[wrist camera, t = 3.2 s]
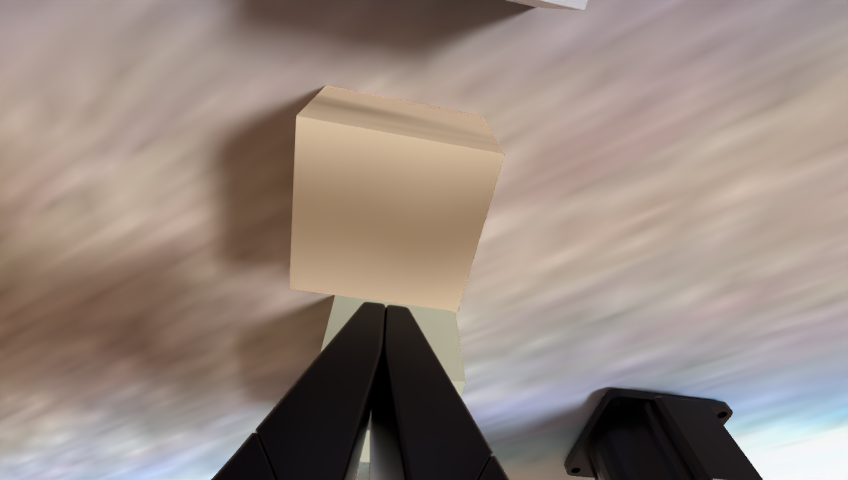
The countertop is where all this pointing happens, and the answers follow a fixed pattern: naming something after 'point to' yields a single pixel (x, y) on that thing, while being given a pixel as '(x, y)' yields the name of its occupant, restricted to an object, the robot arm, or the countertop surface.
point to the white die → (554, 4)
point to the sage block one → (434, 326)
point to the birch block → (389, 198)
